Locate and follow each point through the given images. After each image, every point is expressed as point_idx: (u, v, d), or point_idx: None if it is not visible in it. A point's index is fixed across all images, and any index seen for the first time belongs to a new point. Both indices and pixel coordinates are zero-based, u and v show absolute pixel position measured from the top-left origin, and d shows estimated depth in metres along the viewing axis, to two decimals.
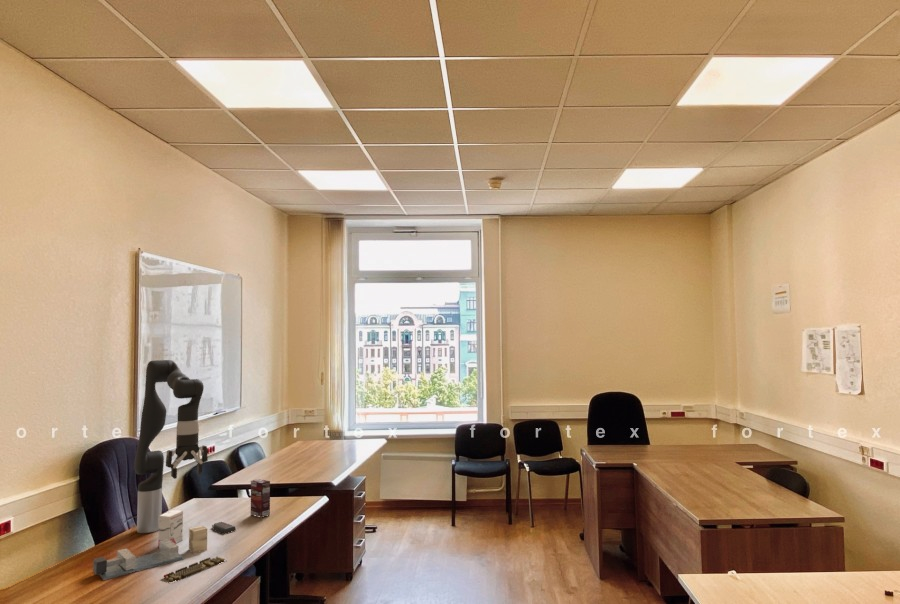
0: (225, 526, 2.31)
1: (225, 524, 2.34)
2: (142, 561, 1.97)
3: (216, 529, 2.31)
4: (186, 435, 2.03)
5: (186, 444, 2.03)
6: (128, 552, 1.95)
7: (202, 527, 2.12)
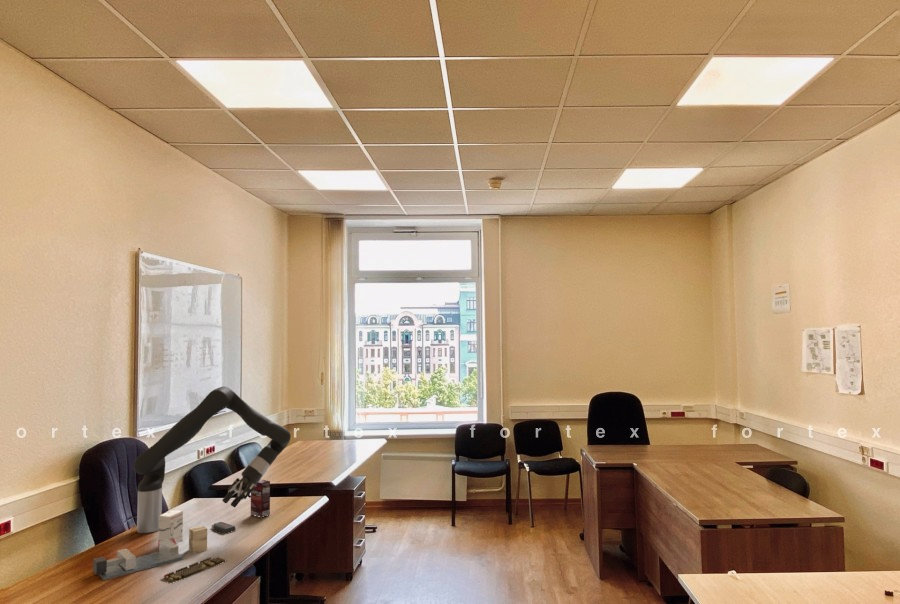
0: (225, 526, 2.31)
1: (225, 524, 2.34)
2: (142, 561, 1.97)
3: (216, 529, 2.31)
4: None
5: (256, 483, 2.26)
6: (128, 552, 1.95)
7: (202, 527, 2.12)
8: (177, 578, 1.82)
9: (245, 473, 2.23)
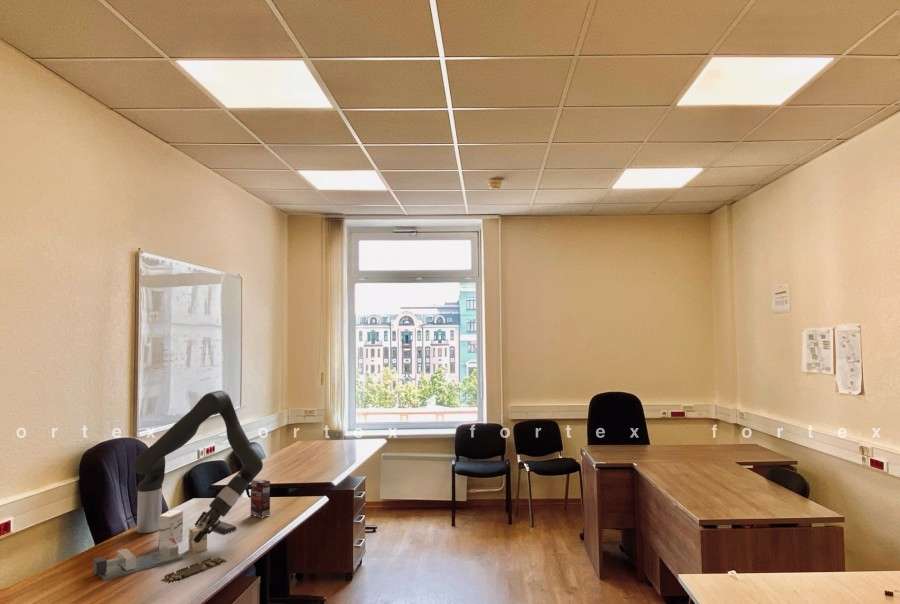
0: (226, 526, 2.31)
1: (226, 524, 2.34)
2: (142, 561, 1.97)
3: (217, 529, 2.32)
4: None
5: None
6: (128, 552, 1.95)
7: (202, 527, 2.12)
8: (177, 578, 1.82)
9: (213, 505, 2.14)
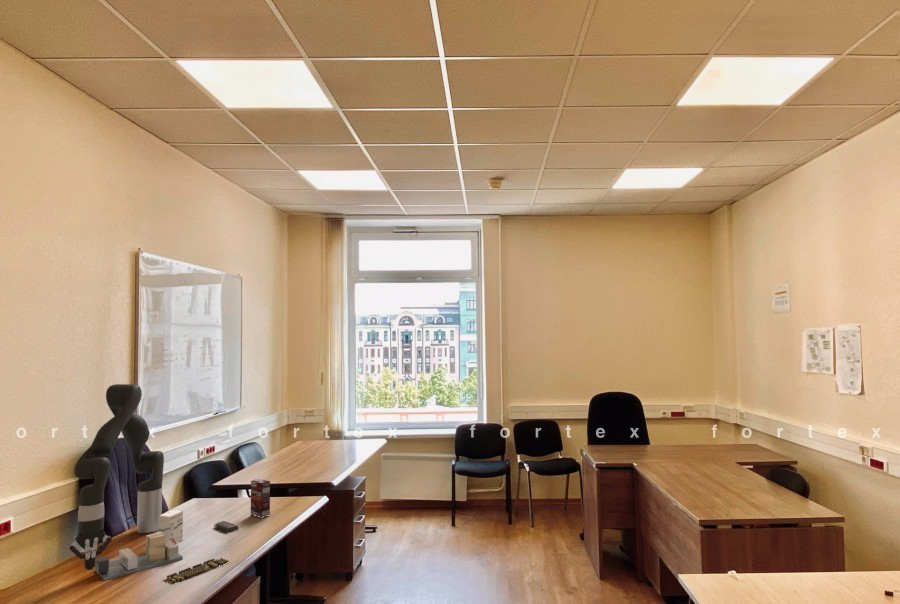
0: (228, 525, 2.32)
1: (228, 523, 2.35)
2: (142, 561, 1.97)
3: (219, 528, 2.33)
4: (88, 521, 1.84)
5: (87, 531, 1.83)
6: (130, 552, 1.95)
7: (160, 534, 2.02)
8: (180, 579, 1.81)
9: None
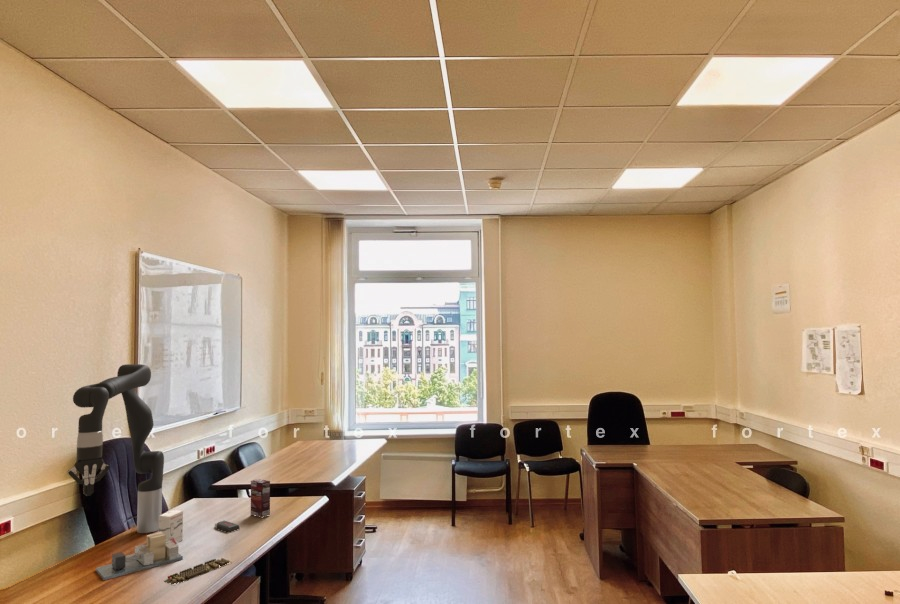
0: (229, 525, 2.33)
1: (228, 523, 2.35)
2: None
3: (220, 528, 2.33)
4: (86, 448, 1.88)
5: (86, 457, 1.87)
6: (146, 548, 1.98)
7: (160, 534, 2.02)
8: (180, 579, 1.81)
9: None
